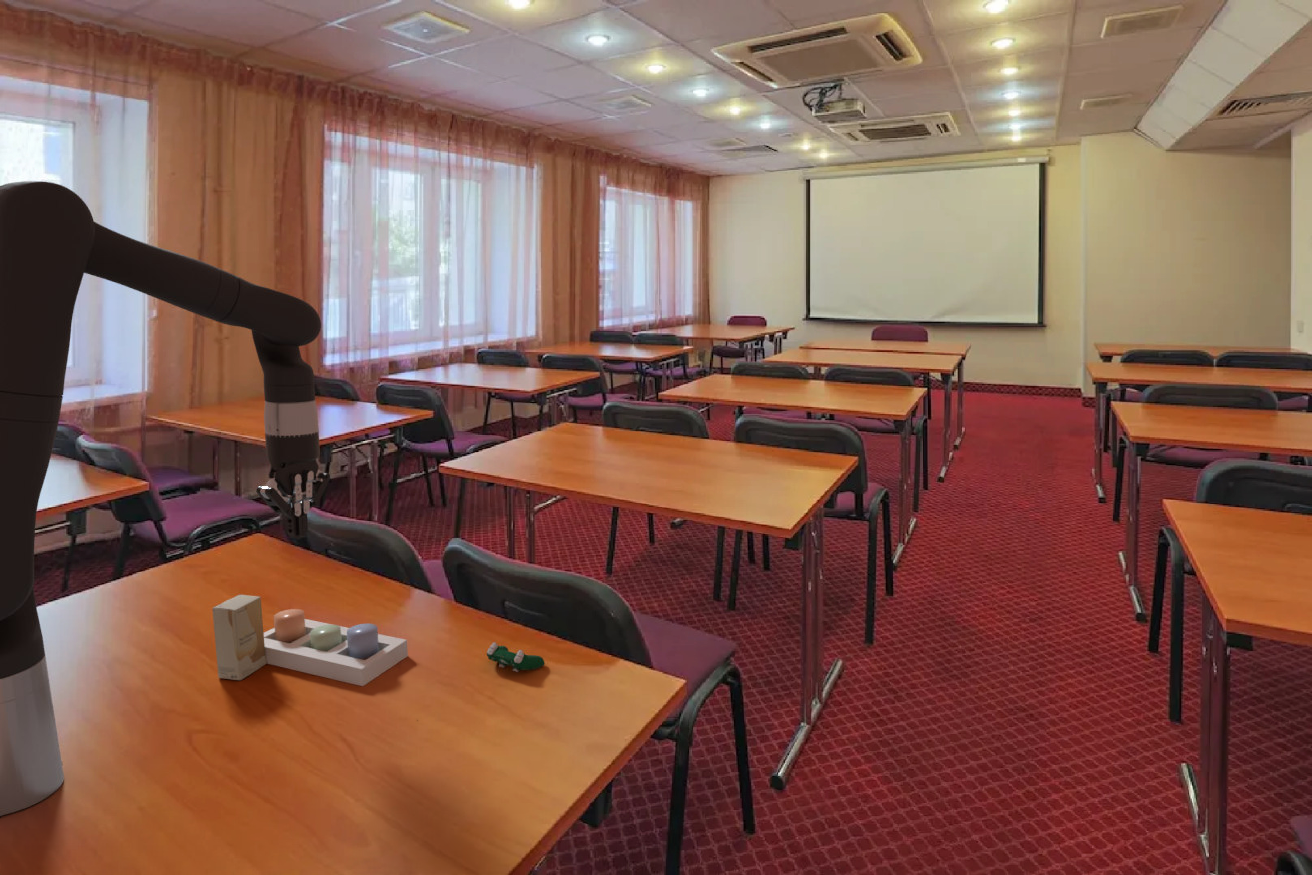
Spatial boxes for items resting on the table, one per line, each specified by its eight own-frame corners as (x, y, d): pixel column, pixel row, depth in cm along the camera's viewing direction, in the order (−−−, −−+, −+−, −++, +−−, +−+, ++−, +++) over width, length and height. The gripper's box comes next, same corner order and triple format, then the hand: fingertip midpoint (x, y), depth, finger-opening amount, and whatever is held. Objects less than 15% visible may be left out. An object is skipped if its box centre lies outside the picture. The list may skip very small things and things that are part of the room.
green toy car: (495, 668, 130) (478, 656, 125) (504, 647, 132) (488, 635, 127) (538, 681, 126) (522, 669, 121) (547, 660, 127) (531, 647, 123)
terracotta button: (290, 644, 128) (288, 622, 128) (269, 639, 130) (267, 617, 129) (312, 632, 133) (310, 611, 132) (291, 628, 134) (289, 607, 134)
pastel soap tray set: (362, 686, 120) (361, 668, 119) (246, 658, 128) (244, 642, 128) (407, 655, 130) (406, 639, 129) (297, 632, 138) (295, 616, 138)
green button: (327, 660, 126) (325, 638, 125) (305, 655, 128) (303, 633, 127) (348, 648, 130) (346, 627, 130) (326, 643, 132) (325, 622, 131)
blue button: (365, 660, 123) (363, 638, 122) (341, 655, 125) (340, 633, 124) (385, 648, 127) (383, 626, 127) (362, 643, 129) (361, 621, 128)
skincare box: (240, 681, 121) (233, 610, 118) (217, 678, 122) (209, 608, 119) (268, 663, 127) (262, 595, 125) (246, 660, 128) (239, 592, 125)
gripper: (276, 438, 108) (282, 552, 111) (342, 425, 121) (347, 529, 124) (236, 433, 111) (244, 545, 114) (305, 422, 123) (311, 523, 126)
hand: (298, 536), depth 119 cm, fingers closed
